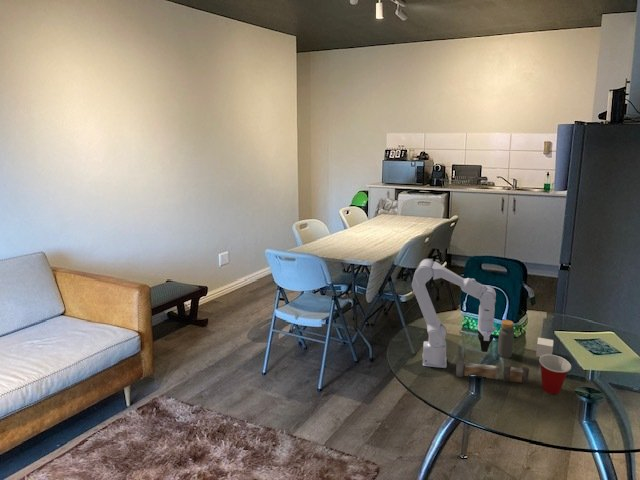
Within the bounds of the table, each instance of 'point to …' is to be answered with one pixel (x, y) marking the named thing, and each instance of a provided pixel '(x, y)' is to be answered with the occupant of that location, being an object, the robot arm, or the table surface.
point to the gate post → (459, 368)
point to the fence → (516, 374)
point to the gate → (481, 370)
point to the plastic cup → (553, 372)
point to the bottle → (506, 339)
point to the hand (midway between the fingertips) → (483, 348)
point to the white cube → (544, 347)
